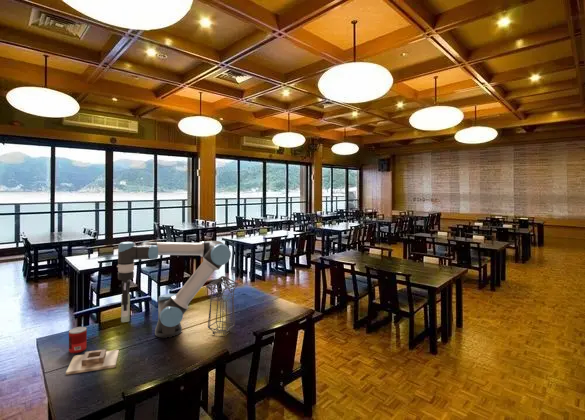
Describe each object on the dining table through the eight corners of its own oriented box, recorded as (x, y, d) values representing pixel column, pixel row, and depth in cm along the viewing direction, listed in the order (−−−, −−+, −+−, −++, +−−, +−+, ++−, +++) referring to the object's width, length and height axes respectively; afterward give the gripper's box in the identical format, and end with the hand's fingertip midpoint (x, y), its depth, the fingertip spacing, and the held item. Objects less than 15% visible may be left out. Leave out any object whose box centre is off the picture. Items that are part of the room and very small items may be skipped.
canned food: (90, 347, 176) (90, 327, 176) (76, 354, 169) (76, 333, 168) (78, 345, 178) (78, 325, 178) (65, 352, 171) (65, 331, 170)
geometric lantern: (203, 336, 195) (204, 277, 194) (216, 327, 210) (218, 272, 209) (227, 340, 190) (228, 280, 189) (239, 330, 205) (240, 274, 204)
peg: (129, 318, 179) (130, 293, 178) (129, 321, 175) (129, 295, 174) (121, 319, 177) (121, 294, 176) (120, 322, 173) (121, 296, 173)
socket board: (118, 351, 173) (118, 344, 173) (115, 367, 158) (115, 359, 158) (73, 358, 165) (73, 350, 165) (65, 374, 151) (65, 366, 150)
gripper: (119, 268, 181) (119, 309, 182) (116, 275, 165) (115, 321, 167) (134, 267, 184) (134, 308, 185) (132, 274, 168) (132, 319, 169)
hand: (125, 314), depth 176 cm, fingers closed on peg, 4 cm apart
